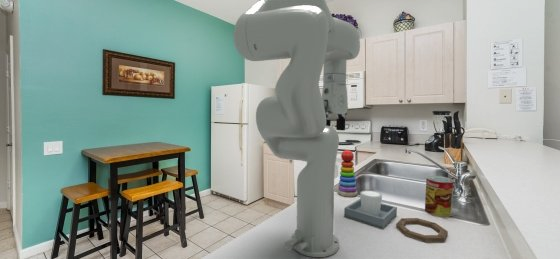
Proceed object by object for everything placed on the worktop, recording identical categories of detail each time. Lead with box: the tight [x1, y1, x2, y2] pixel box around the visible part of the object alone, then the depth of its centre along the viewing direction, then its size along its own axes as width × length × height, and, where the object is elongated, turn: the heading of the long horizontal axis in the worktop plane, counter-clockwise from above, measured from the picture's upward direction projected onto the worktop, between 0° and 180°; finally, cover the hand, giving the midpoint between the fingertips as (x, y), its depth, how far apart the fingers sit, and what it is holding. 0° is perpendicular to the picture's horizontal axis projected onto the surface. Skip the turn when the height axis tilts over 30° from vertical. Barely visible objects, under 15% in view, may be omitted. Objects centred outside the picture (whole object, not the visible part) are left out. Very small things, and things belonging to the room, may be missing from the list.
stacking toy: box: [337, 149, 358, 198], centre depth 103 cm, size 8×8×19 cm
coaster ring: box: [395, 217, 449, 244], centre depth 72 cm, size 12×12×1 cm
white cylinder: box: [360, 189, 383, 217], centre depth 82 cm, size 7×7×7 cm
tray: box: [343, 197, 398, 230], centre depth 82 cm, size 13×13×3 cm
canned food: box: [424, 175, 455, 218], centre depth 85 cm, size 8×8×12 cm
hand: (333, 130), depth 84 cm, fingers open, 9 cm apart
